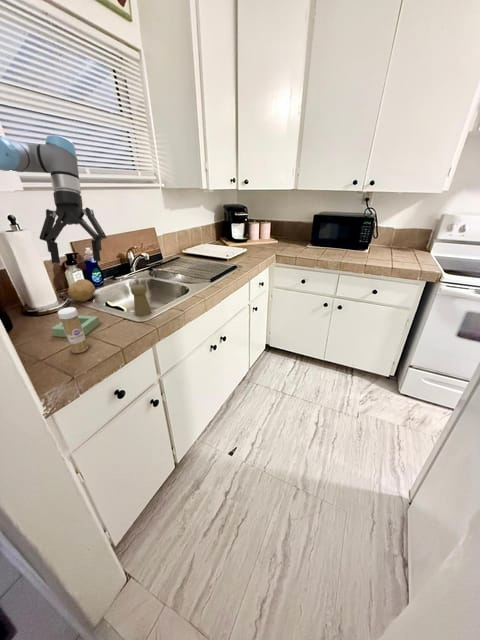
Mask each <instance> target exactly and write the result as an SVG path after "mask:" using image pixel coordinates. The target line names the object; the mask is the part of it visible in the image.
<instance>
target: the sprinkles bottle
mask: <svg viewBox="0 0 480 640" xmlns="http://www.w3.org/2000/svg"><path fill="white" fill-rule="evenodd" d="M57 315H58V318H59V319H60V323H61V322H62V324H63V328H64V331H65V334H66V336H67V337H66V339H67V341H68V344H69V346H70V348H71V353H73V354H81V353H84V352H86V351H87V350H88V349H89V345H88V342H87V340H86V335H84V332H83V329H82V326H81V323H80V321H79V318H78V315H79V313H78V310H77V308H76V307H73V306H70V307H69V306H68V307H64V308H61V309H59V310H57Z"/></svg>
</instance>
